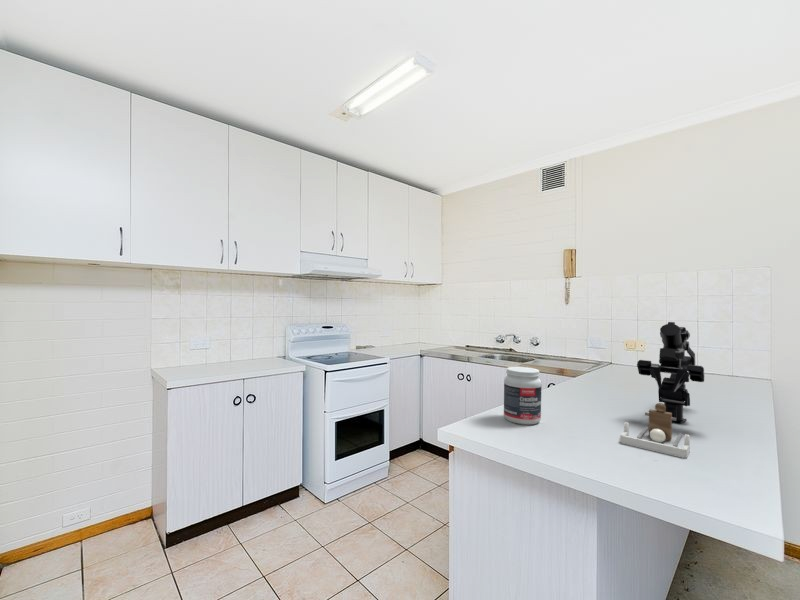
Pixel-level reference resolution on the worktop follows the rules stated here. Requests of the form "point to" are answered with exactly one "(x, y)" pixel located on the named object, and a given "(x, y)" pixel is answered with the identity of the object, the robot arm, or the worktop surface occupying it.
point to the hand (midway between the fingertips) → (666, 390)
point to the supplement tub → (522, 395)
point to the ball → (657, 435)
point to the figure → (661, 420)
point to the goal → (655, 444)
